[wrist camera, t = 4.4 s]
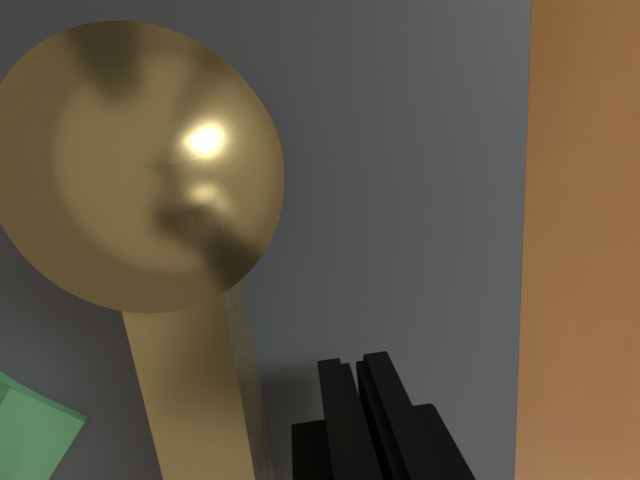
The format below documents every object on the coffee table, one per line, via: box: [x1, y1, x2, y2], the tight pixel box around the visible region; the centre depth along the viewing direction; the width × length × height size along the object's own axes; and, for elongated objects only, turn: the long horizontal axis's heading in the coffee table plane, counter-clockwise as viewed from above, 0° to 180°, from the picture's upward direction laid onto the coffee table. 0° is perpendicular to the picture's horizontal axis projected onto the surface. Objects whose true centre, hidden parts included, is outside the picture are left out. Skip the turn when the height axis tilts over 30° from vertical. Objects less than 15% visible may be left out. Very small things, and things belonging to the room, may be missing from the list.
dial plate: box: [0, 0, 531, 480], centre depth 10 cm, size 24×20×2 cm
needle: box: [0, 21, 284, 480], centre depth 9 cm, size 14×4×4 cm, turn 6°
